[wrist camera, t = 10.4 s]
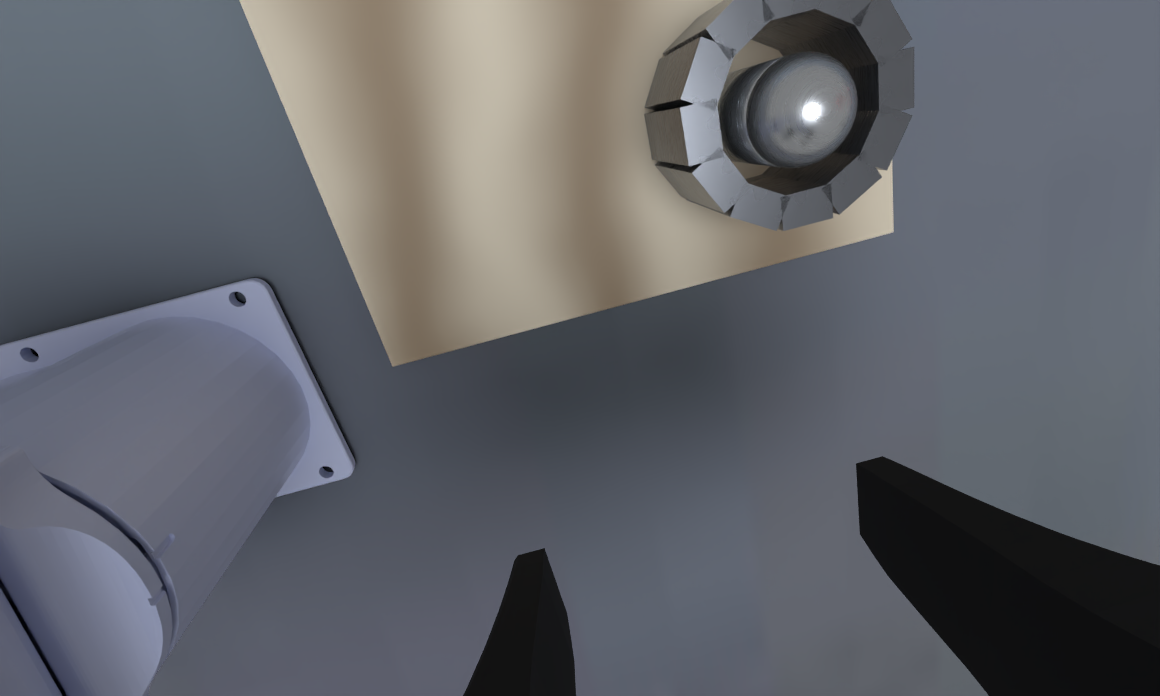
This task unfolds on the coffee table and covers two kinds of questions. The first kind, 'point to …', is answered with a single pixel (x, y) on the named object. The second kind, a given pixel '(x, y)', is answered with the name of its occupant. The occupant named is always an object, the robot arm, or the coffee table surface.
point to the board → (508, 161)
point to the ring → (789, 24)
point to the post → (787, 110)
